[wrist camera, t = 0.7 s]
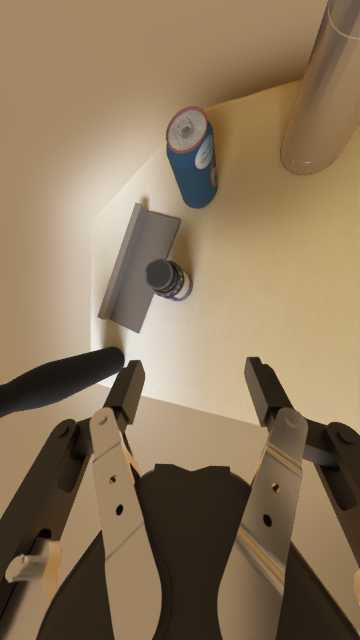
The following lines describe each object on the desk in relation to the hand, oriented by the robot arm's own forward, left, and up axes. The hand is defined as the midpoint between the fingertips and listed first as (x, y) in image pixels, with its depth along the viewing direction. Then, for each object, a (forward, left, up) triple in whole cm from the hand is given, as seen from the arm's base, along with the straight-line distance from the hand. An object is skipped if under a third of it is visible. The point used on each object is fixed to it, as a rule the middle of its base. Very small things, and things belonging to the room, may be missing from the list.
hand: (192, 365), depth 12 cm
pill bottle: (-7, -11, -21) cm, 25 cm away
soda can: (-26, -14, -21) cm, 36 cm away
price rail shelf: (-7, -20, -21) cm, 30 cm away
